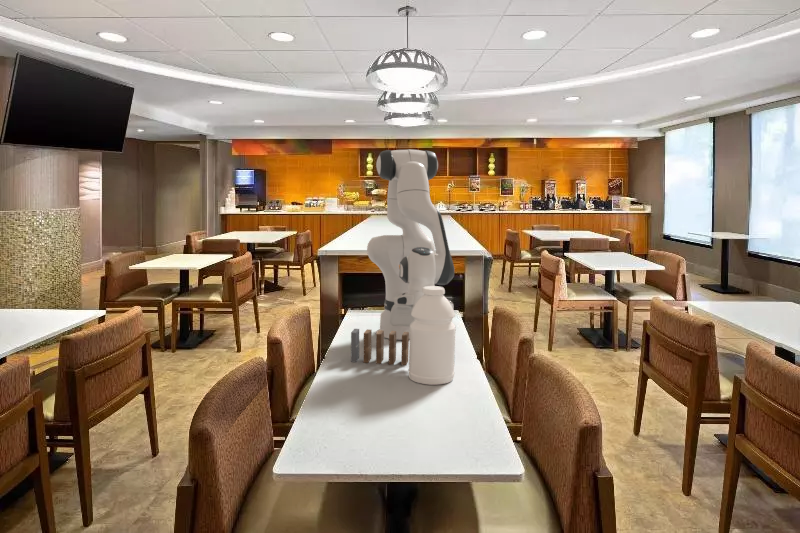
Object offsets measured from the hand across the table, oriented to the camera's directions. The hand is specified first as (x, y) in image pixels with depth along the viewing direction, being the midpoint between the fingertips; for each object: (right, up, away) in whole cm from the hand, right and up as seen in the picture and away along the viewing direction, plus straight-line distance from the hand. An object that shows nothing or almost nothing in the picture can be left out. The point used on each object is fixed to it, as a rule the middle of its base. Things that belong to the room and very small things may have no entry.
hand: (420, 340), depth 191 cm
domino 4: (-5, -8, +2) cm, 10 cm away
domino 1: (-18, -7, +4) cm, 19 cm away
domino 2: (-13, -8, +3) cm, 16 cm away
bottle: (+3, -10, -12) cm, 16 cm away
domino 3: (-9, -8, +3) cm, 12 cm away
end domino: (-22, -7, +5) cm, 23 cm away
